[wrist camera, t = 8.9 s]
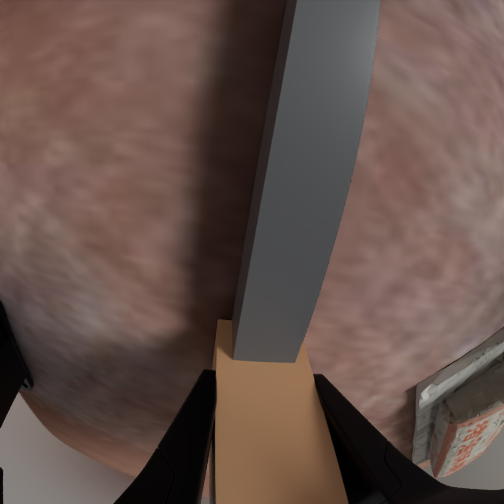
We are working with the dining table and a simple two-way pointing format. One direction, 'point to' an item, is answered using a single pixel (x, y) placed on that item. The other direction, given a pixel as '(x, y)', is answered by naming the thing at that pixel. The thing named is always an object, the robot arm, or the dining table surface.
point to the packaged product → (461, 409)
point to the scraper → (291, 262)
